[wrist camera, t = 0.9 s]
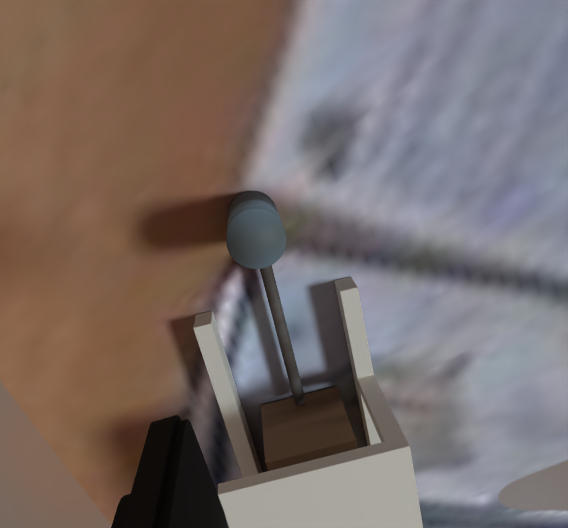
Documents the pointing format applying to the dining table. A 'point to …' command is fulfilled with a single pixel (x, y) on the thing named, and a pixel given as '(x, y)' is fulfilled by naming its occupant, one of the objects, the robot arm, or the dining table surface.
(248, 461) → the lever switch box
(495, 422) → the dining table surface
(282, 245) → the knobbed lever joystick
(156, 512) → the robot arm
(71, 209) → the dining table surface
